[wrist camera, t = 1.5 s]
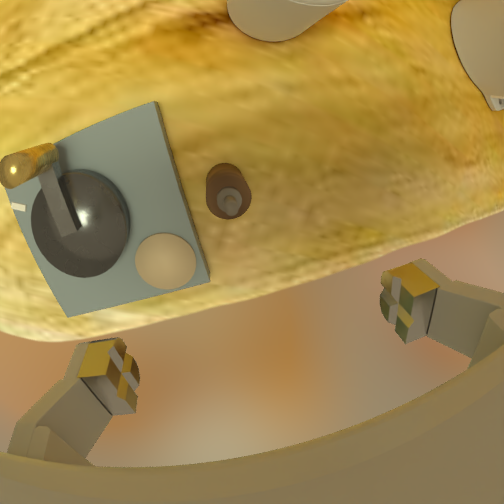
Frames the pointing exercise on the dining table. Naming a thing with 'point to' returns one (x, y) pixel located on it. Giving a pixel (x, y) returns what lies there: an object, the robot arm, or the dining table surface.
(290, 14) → the pill bottle
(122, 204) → the dial
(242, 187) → the brown bottle
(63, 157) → the board
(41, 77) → the dining table surface
